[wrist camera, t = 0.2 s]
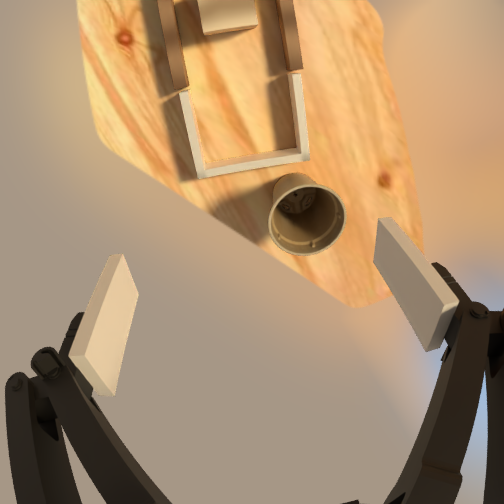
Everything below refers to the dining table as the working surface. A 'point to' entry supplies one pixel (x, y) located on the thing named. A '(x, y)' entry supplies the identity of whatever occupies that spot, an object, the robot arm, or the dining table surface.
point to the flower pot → (305, 216)
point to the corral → (254, 159)
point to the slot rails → (175, 48)
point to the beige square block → (227, 15)
